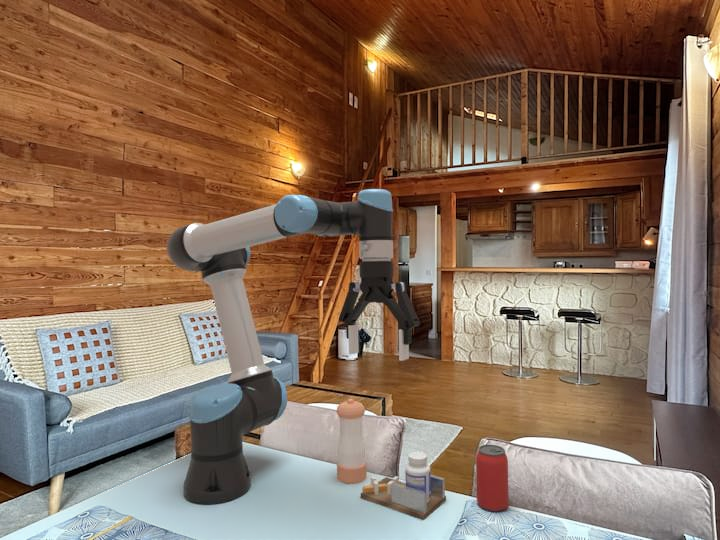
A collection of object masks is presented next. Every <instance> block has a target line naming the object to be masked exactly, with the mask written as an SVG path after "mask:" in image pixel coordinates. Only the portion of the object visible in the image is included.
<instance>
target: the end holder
mask: <svg viewBox="0 0 720 540" xmlns="http://www.w3.org/2000/svg"><path fill="white" fill-rule="evenodd" d="M445 483H446V480H445V478H444V477H441V476H437V475H434V474H431V495H433V496H437V497H440V498H444V497H445V496H446V487H445V486H446V484H445ZM391 494H392V503H394V504H397V505H400V506H402V507H405V508H408V509H411V510H414V511H417V512H420V513H423V514H425V513H426V512H427V494H426V492H423V491H420V490H417V489H413V488H410V487H407V486H404V485H401V484H397V483H392V484H391Z"/></svg>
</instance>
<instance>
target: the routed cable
mask: <svg viewBox="0 0 720 540" xmlns="http://www.w3.org/2000/svg"><path fill="white" fill-rule="evenodd" d="M391 479H392V481H390V482H389V483H387V484H378V482H379V481H377V479H376V476H375V475H370V485H369V484H368V485H362V492H364V493H367V492H374V494H375V495H378V494H379V491H385V490H386V491H387V492H388V495H391V484H392V483H397V484H399V481H400V479H399V476H396V475H395V476H394V477H393V478H391Z"/></svg>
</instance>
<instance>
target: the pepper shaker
mask: <svg viewBox="0 0 720 540" xmlns="http://www.w3.org/2000/svg"><path fill="white" fill-rule="evenodd" d="M365 412H366V408H365V406H364V405H363V403H361V402H359V401H356V400H354V399H353V398H349V399H347V400H346V401H343V402H340V403H339V404H338V406H337V407H336V415H337V416H338V417H339V438H338V446H337V447H338V448H337V454H338V456H337V459H338V461H337V463H336V475H337V476H336V478H337V480H338V481H339V482H341V483H345V484H358V483H362V482H364V481H366V479H367V473H368V470H367V468H368V467H367V461H366V447H365V446H366V445H365V441H364V434H363V416H364V415H365Z"/></svg>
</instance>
